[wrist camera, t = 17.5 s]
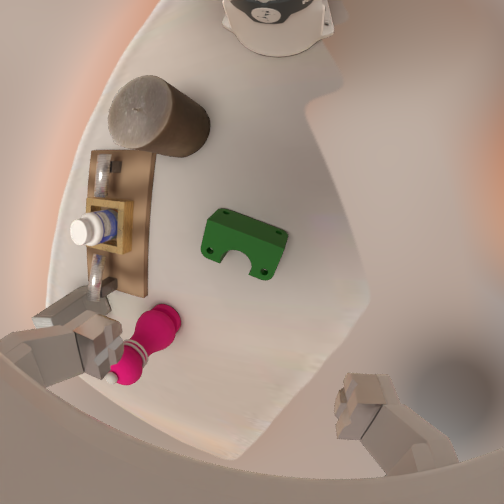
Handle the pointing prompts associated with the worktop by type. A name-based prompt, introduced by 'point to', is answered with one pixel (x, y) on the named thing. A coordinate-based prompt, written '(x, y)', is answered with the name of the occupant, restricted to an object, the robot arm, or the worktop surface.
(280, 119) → the worktop surface
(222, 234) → the clamp
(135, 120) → the pillar candle
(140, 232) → the shaft stand
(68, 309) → the skincare box
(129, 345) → the pepper mill
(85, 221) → the pill bottle
